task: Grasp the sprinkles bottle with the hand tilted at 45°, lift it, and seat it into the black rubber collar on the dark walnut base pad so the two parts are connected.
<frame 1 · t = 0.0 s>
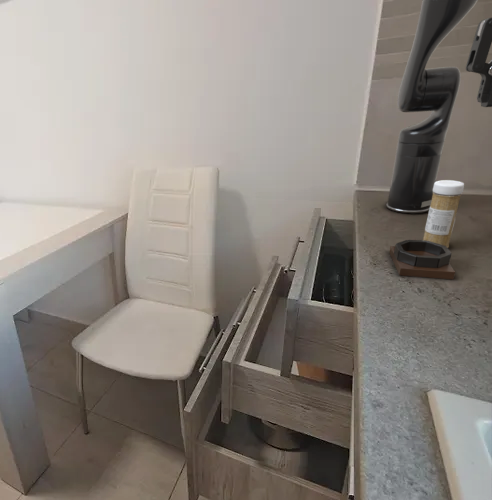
sprinkles bottle: (434, 246, 76), on the countertop
base pad: (418, 265, 70), on the countertop
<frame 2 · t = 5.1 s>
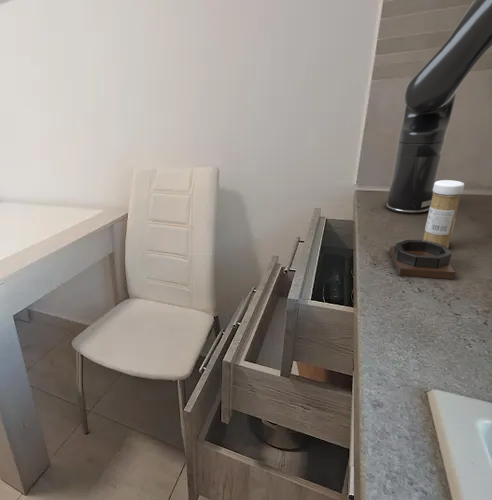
nothing on the countertop moved.
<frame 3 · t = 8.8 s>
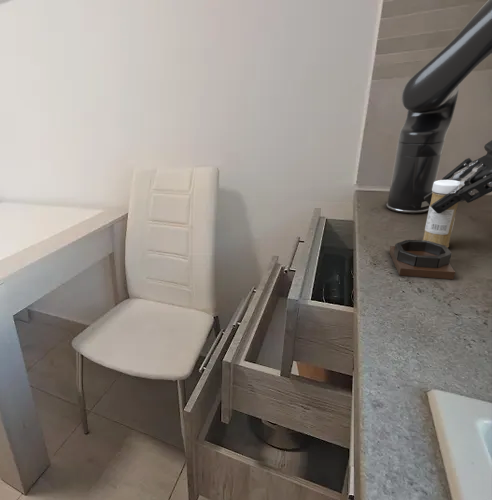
hand: (430, 205, 74), 9 cm above the countertop, tool tilted 45°, fingers closed on sprinkles bottle, 4 cm apart
sprinkles bottle: (434, 246, 76), on the countertop, touching gripper
when the fingers open (10 cm above the countertop, at t = 16.0 s): sprinkles bottle stays where it is, resting on base pad.
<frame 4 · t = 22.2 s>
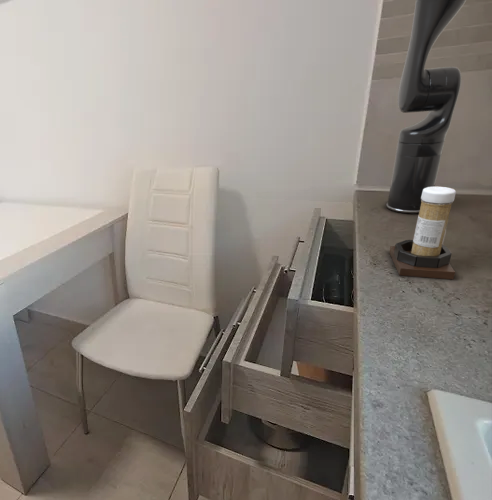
sprinkles bottle: (423, 259, 69), point 1 cm above the countertop, touching base pad
at the end: sprinkles bottle 0.6 cm off-centre on the base pad, point 1.3 cm above the base pad's base; sprinkles bottle tilted 0°; the gripper is holding nothing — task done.
